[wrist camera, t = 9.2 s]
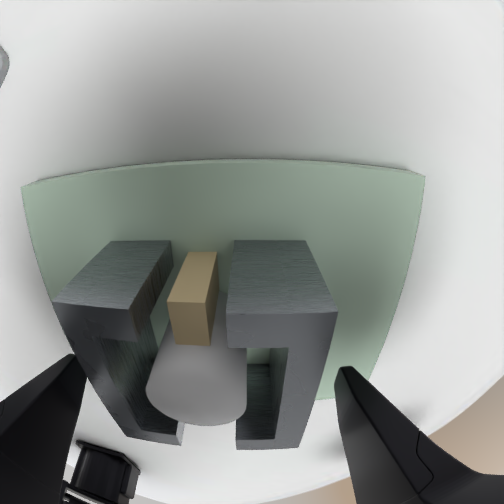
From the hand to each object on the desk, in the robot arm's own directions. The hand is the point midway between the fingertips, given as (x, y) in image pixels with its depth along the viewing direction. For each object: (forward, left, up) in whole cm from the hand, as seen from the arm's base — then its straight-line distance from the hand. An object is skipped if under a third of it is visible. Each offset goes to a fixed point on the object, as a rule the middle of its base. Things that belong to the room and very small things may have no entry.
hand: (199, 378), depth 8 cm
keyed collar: (0, 0, -3) cm, 3 cm away
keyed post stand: (0, 0, -4) cm, 4 cm away
